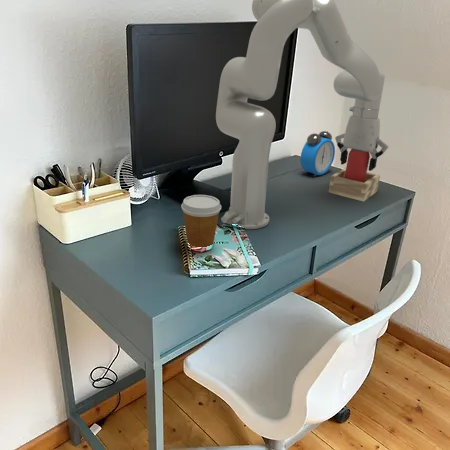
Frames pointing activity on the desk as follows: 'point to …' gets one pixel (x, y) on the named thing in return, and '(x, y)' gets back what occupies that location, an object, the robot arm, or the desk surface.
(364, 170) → the beer can
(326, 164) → the alarm clock
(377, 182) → the wooden box
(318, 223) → the desk surface
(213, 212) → the disposable coffee cup
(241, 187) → the robot arm
